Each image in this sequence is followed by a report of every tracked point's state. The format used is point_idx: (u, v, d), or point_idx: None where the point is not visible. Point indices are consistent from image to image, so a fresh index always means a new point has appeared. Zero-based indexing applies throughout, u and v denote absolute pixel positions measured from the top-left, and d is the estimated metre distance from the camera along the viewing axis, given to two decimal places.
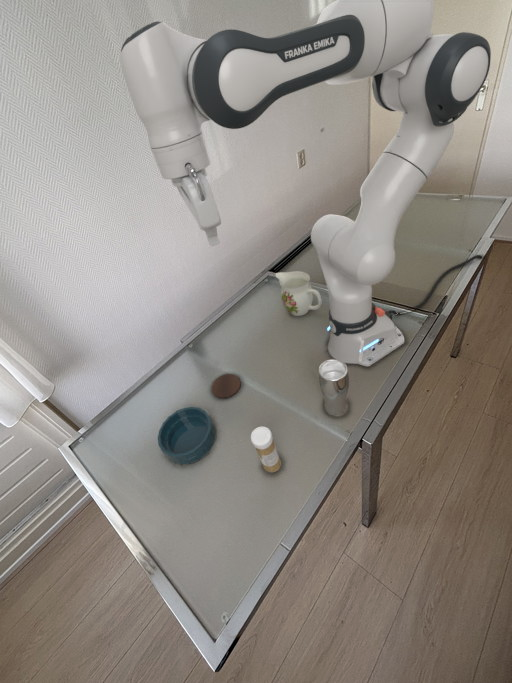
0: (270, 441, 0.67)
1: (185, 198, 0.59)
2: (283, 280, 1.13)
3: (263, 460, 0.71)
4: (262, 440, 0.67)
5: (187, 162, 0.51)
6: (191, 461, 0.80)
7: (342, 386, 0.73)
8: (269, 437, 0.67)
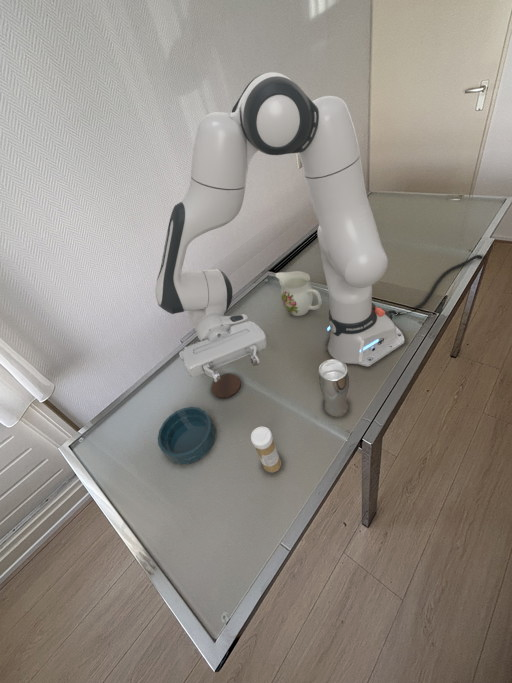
0: (270, 441, 0.67)
1: None
2: (283, 280, 1.13)
3: (263, 460, 0.71)
4: (262, 440, 0.67)
5: (200, 341, 0.80)
6: (191, 461, 0.80)
7: (342, 386, 0.73)
8: (269, 437, 0.67)
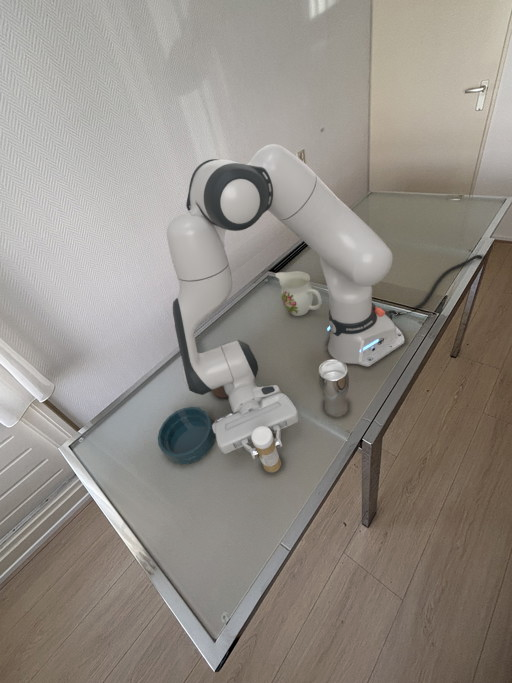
0: (271, 441, 0.67)
1: None
2: (283, 280, 1.13)
3: (263, 460, 0.71)
4: (262, 439, 0.67)
5: (232, 412, 0.81)
6: (191, 461, 0.80)
7: (342, 386, 0.73)
8: (270, 437, 0.67)
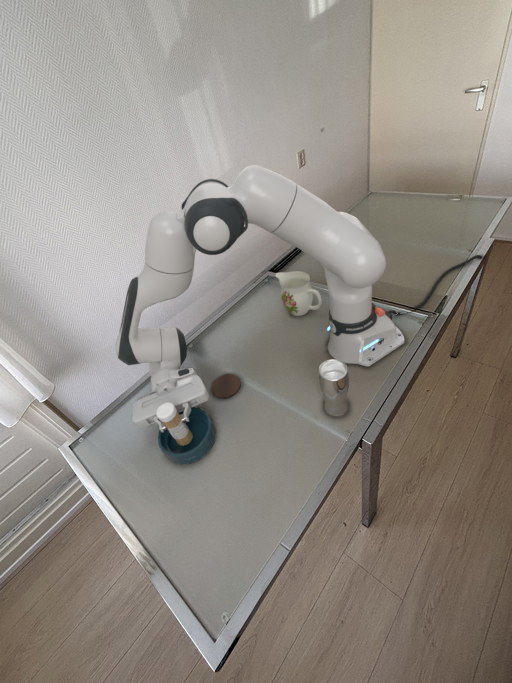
0: (172, 415, 0.75)
1: None
2: (283, 280, 1.13)
3: (171, 433, 0.79)
4: (164, 414, 0.75)
5: None
6: (191, 461, 0.80)
7: (342, 386, 0.73)
8: (171, 411, 0.75)
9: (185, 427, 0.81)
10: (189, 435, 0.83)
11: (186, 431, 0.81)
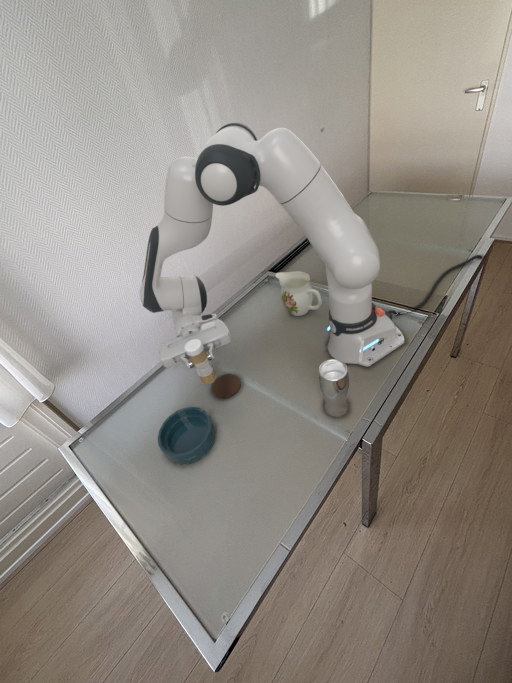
0: (200, 349, 0.79)
1: None
2: (283, 280, 1.13)
3: (197, 370, 0.83)
4: (193, 347, 0.79)
5: None
6: (191, 461, 0.80)
7: (342, 386, 0.73)
8: (199, 345, 0.79)
9: (210, 365, 0.85)
10: (213, 374, 0.87)
11: (211, 369, 0.85)
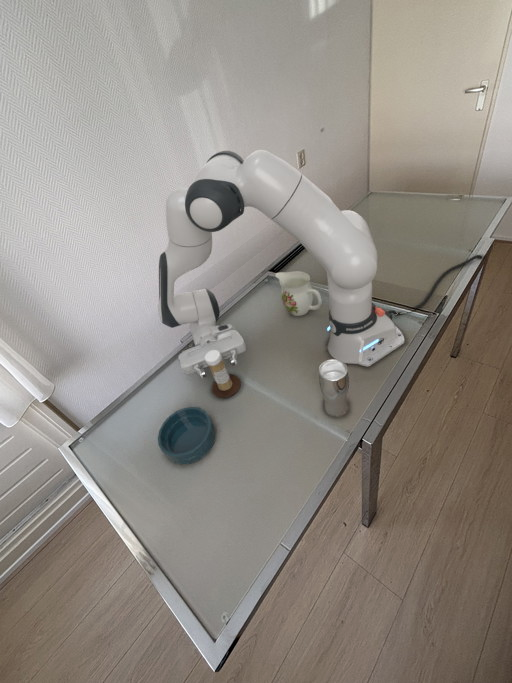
0: (219, 359, 0.88)
1: None
2: (283, 280, 1.13)
3: (216, 377, 0.92)
4: (212, 358, 0.87)
5: (195, 346, 1.01)
6: (191, 461, 0.80)
7: (342, 386, 0.73)
8: (218, 356, 0.88)
9: (227, 373, 0.93)
10: (230, 381, 0.95)
11: (228, 377, 0.94)
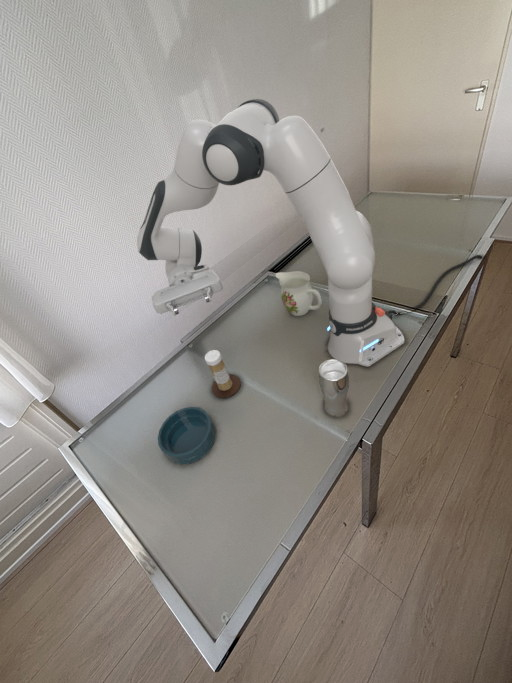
0: (219, 359, 0.88)
1: None
2: (283, 280, 1.13)
3: (216, 377, 0.92)
4: (212, 358, 0.87)
5: None
6: (191, 461, 0.80)
7: (342, 386, 0.73)
8: (218, 356, 0.88)
9: (227, 373, 0.93)
10: (230, 381, 0.95)
11: (228, 377, 0.94)
